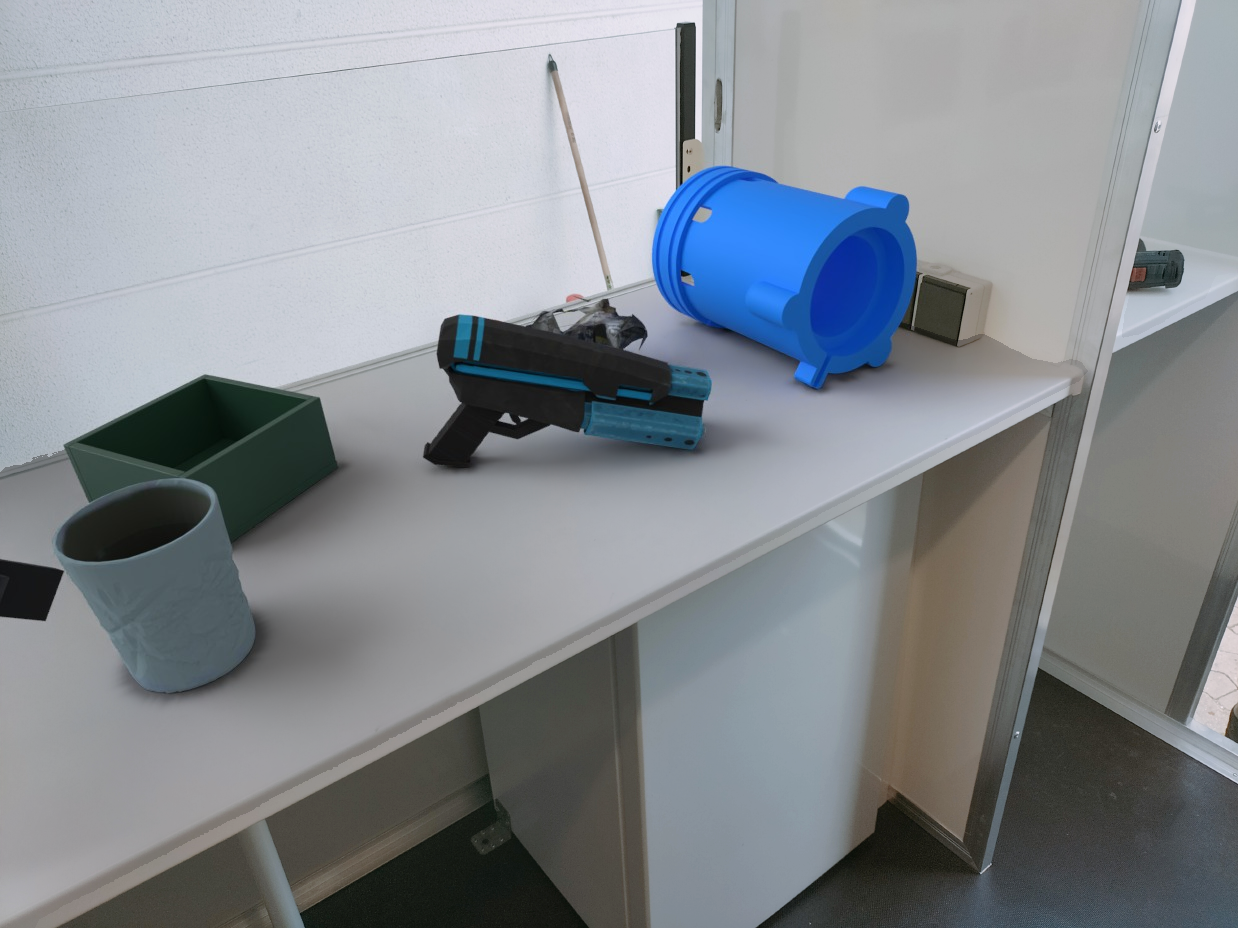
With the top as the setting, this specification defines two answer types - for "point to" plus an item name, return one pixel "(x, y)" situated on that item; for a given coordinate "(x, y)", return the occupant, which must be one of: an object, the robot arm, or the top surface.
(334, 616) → the top surface
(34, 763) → the top surface
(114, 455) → the open box
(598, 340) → the foil
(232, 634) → the grey-blue textured cup
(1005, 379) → the top surface
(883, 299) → the tube
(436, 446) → the gun
